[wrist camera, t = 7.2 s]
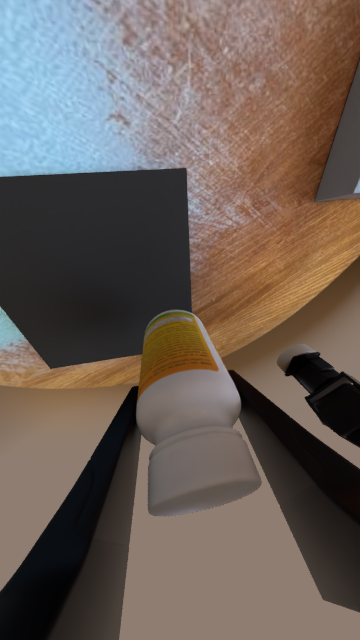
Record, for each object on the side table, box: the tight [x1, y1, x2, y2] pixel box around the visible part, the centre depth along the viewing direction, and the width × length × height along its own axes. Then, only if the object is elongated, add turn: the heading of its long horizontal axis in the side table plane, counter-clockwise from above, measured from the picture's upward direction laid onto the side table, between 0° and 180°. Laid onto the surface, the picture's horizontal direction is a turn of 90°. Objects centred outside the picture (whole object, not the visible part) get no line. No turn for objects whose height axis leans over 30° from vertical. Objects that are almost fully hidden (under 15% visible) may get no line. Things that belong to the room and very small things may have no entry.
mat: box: [0, 168, 192, 369], centre depth 16 cm, size 19×20×1 cm
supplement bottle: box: [136, 310, 261, 516], centre depth 9 cm, size 5×5×10 cm
